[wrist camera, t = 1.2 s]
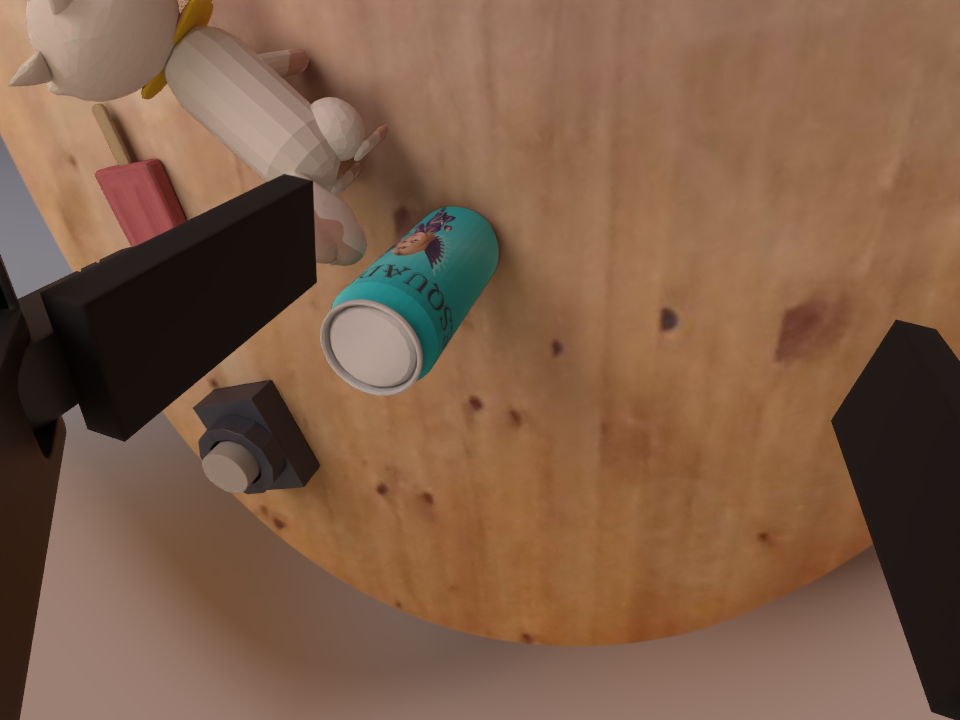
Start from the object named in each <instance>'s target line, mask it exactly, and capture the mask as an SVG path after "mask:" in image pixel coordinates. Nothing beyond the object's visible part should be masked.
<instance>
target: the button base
mask: <svg viewBox="0 0 960 720" xmlns="http://www.w3.org/2000/svg"><path fill="white" fill-rule="evenodd" d="M193 409H194V410H195V412H196V413H197V415H198V416H199V418H200V419H201V421H202V422H203V424H204V425H205V427H206V428H207V430H206V432H205V433H204V434H203V436H202V437H201V438H200V440H199V442H198V443H199V450H200V457H201V459H202V460H203V459H204V458H205V457H206V456H207V455H208V454H209V453H210V452H211V451H212V450H213V449H214V448H215V447H216V446H217V445H218V444H219V443H220V442H222V441H225V440H229V441H232V442H235V443H237V444H240V445H242V446H243V447H244V448H245V449H247V450H248V451H249V452H251V453H252V454H253V455H254V457H255V459H256V460H257V462H258V463H259V465H260V473H259V475H258V476H257V477H256V478H255V480H254V481H253V482H252V483H251V484H250V485H249V486H248V488H247V489H246V490H245V491H243V492H244V493H246V494H255V493H264V492H265V491H266V490H272V489H286V488H300V487H305V485H306V484H307V483H308V481H309V480H310V479H311V477H312V476H313V475H314V473H315V472H316V471H317V469H318V468H319V467H320V465H319V463H318V461H317V460H316V458H315V456H314V454H313V453H312V451H311V449H310V447H309V446H308V444H307V442H306V440H305V439H304V437H303V435H302V433H301V432H300V430H299V428H298V426H297V425H296V423H295V421H294V419H293V418H292V416H291V414H290V412H289V411H288V409H287V407H286V405H285V404H284V402H283V400H282V398H281V397H280V395H279V393H278V391H277V390H276V388H275V386H274V384H273V383H272V381H271V380H268V381H262V382H256V383H250V384H245V385H239V386H233V387H227V388H221V389H215V390H213V391H212V392H211V393H210V394H209V395H208V396H206V397H205V398H204V399H203V400H202V401H201V402H199V403H198V404H197V405H196V406H195V407H194V408H193Z"/></svg>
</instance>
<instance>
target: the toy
mask: <svg viewBox="0 0 960 720" xmlns="http://www.w3.org/2000/svg"><path fill="white" fill-rule="evenodd" d="M211 1H212V0H189V2H188V3H187V4H186V6H185V7H184V9H183V10H182V12H181V14H180V12H179V6H178V1H177V0H28V4H27V10H26V25H27V30H28V35H29V38H30V42H31V44H32V46H33V48H34V49H35V52H36V53H35V54H34V55H33V56H31V57H30V58H29V59H28V60H27V61H26V62H24V63H23V64H22V65H21V67H20V68H19V69H18V71H17V72H16V73H15V75H14V77H13V78H12V79H11V81H10V82H9V84H8V86H29V85H37V84H41V83H46V82H47V86H48V88H49V90H50V92H52V93H54V94H57V95H67V96H73V97H77V98H80V99H82V100H87V101H97V102H103V101H108V100H113V99H117V98H121V97H124V96H127V95H129V94H131V93H134V92H136V91H137V90H139V89H141V88H142V87H143V88H142V93H141V95H142V98H144V99H151V98H153V97H154V96H155V95H156V94H157V93H159V92H160V91H161V90H162V89H163V87H164V86H165V85H166V84H167V83H168V85H169V87H170V89H171V90H172V92H173V93H174V95H175V96H176V98H177V100H178V101H179V103H180V104H181V106H182V107H183V108H184V109H185V110H186V111H187V112H188V113H189V114H191V115H192V116H193V117H194V118H195V119H196V120H197V121H199V122H200V123H201V124H202V125H203V126H204V127H205V128H206V129H208V130H209V131H210V132H211V133H212V134H213V135H214V136H215V137H217V138H218V139H219V140H220V141H221V142H222V143H223V144H225V145H226V146H227V147H228V148H229V149H230V150H231V151H232V152H234V153H235V154H236V155H237V156H238V157H239V158H240V159H241V160H243V161H244V162H245V163H246V164H247V165H248V166H249V167H251V168H252V169H253V170H254V171H255V172H256V173H257V174H258V175H260V176H261V177H262V178H263V179H264V180H265V181H266V182H268V181H270V180H273V179H275V178H277V177H279V176H281V175H283V174H287V175H292V176H296V177H300V178H304V179H308V180H313V193H314V221H315V248H316V262H317V263H324V264H326V263H330V264H332V265H342V266H345V265H351V264H354V263H356V262H357V261H359V260H360V259H361V258H362V257H363V255H364V253H365V250H366V245H367V243H366V238H365V235H364V232H363V230H362V228H361V227H360V225H359V223H358V222H357V220H356V217H355V215H354V214H353V212H352V210H351V209H350V208H349V207H348V206H347V205H346V204H345V203H344V202H343V201H342V200H340V199H339V198H337V196H338V195H339V194H340V193H341V192H342V191H343V190H344V189H345V188H346V187H347V186H348V185H349V184H350V183H351V182H352V181H353V180H354V179H355V178H356V177H357V176H358V174H359V172H360V167H361V165H360V163H359V162H356V163H354V164H353V165H352V166H351V167H350V168H349V169H348V170H347V171H346V172H345V173H343V174H342V175H341V176H340V177H339V178H338V179H337V173H338V170H339V166H340V161H345V160H349V159H351V158H352V157H354V160H355V161H359V160H361V159H362V158H363V157H364V156H365V155H366V154H368V153H369V152H370V151H371V150H372V149H373V148H374V147H375V146H376V145H378V144H379V143H380V142H381V141H382V140H383V139H384V138H385V136H386V134H387V131H388V127H387V125H386V124H384V125H381V126H380V127H379V128H377V129H376V130H375V131H374V132H373V133H372V134H370V135H369V136H368V137H367V138H366V139H365V128H364V124H363V121H362V118H361V116H360V115H359V113H358V112H357V111H356V110H355V109H354V108H353V106H351V105H350V104H348V103H347V102H345V101H343V100H340V99H338V98H333V97H325V98H322V99H319V100H317V101H314V102H313V103H312V104H310V103H309V102H308V101H307V100H306V99H305V98H304V97H302V96H301V95H300V94H299V93H298V92H297V91H296V90H295V89H294V88H293V87H292V86H291V85H290V84H288V83H287V82H286V81H285V80H284V79H283V78H282V77H285V76H290V75H295V74H300V73H302V72H304V71H305V70H306V68H307V67H308V62H309V60H308V55H307V53H306V52H305V51H304V50H303V49H300V48H295V49H288V50H280V51H273V52H266V53H259V54H256V53H255V52H254V51H253V50H252V49H251V48H250V47H248V46H247V45H246V44H245V43H244V42H243V41H242V40H241V39H240V38H238V37H236V36H234V35H232V34H230V33H228V32H225V31H223V30H221V29H219V28H214V27H210V26H207V24H208V22H209V20H210V17H211V14H212V11H213V3H212V2H211Z"/></svg>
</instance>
